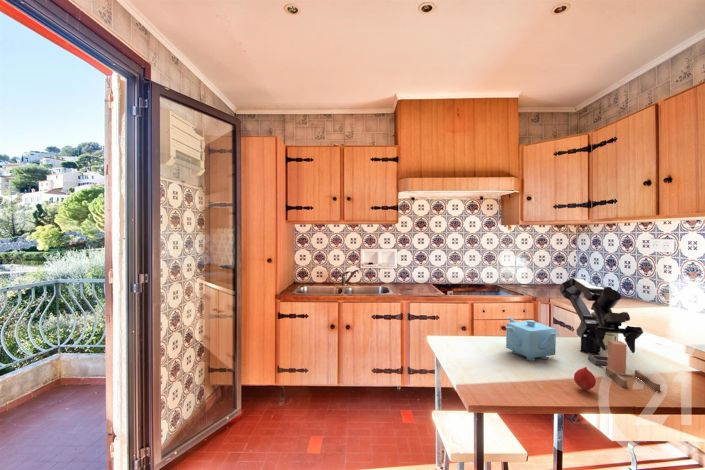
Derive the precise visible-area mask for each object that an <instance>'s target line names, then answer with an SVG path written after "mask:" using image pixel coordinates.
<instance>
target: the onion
mask: <svg viewBox="0 0 705 470" xmlns="http://www.w3.org/2000/svg"><path fill="white" fill-rule="evenodd" d="M573 375H574V376H573V381H574V382H575V384H576V385H577V386H578V387H579V388H580V389H581V390H583V391H584V392H586V391H589V390H591V389H593V388H594V387H595V386H596V383H597V379H596V376H595V375H594V374H593V372H591V371H590V370H589V369H588V367H587V366H583V367H581V368H580V369H577V370H576V372H574V374H573Z"/></svg>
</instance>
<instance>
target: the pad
mask: <svg viewBox="0 0 705 470" xmlns="http://www.w3.org/2000/svg"><path fill="white" fill-rule="evenodd" d="M600 367H601V368H602V369H603V370H606V367H607V366H600ZM616 373H618V374H619V375H620V376H628V375H629V376H628V377H632V376H633V374H632V373H631V372H629V371H627V370H626V373H620V372H616Z"/></svg>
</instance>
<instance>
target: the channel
mask: <svg viewBox="0 0 705 470" xmlns="http://www.w3.org/2000/svg"><path fill="white" fill-rule="evenodd" d="M604 370H605V369H604ZM605 375H607V376H608V377H609V378H611V379H612V380H613V381H614V382H615V383H617V384H618V385H619V386H620V387H621V388H623V389H628V383H629V382H628V380H627V379H626V378H625V377H623V375H619V374H618V373H616V372H615V371H614V370H612V369H611V368H610V367H606V370H605ZM634 377H635V378H636V377H637V378H639V379H640V380H642V381H643V382H644V383H645V384H644V383H643V382H642V383H643V384H644V385H646V384H647V385H648V386H647V385H646V386H647V387H649V386H650V387H651V388H652V390H653V389H654V390H655V391H654V390H653V391H654V392H656V391H658V393H661V384H660V382H657V381H656V380H654V379H653V378H651V377H650V376H649V375H647V374H645V373H643V372H642V371H640V369H639V370H638V369H635V370H634ZM637 378H636V379H637ZM639 379H638V380H639ZM640 380H639V381H640ZM650 387H649V388H650ZM651 388H650V389H651Z"/></svg>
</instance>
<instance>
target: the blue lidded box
mask: <svg viewBox="0 0 705 470" xmlns="http://www.w3.org/2000/svg"><path fill="white" fill-rule="evenodd" d="M507 319H508V320H509V322H507V323H506V326H505V329H506V337H505V339H506V340H505V341H506V342H505V343H506V344H505V348H506V349H509V350H511V351H512V354H515V355H521V356H523V357H526V360H528V361H531V362H535V358H540V359H545V360H548V359H549V358H548V356H554V355H556V346H557V345H556V343H557V341H556V340H557V335H559V333H558V332H557V329H556V328H555V327H553V326H552V327H551V326H549V325H546V324H543V323H540V322H536V321H535V320H533V319H526V320H524V321H516V320H515V319H514V318H512V317H510V316H507Z"/></svg>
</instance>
